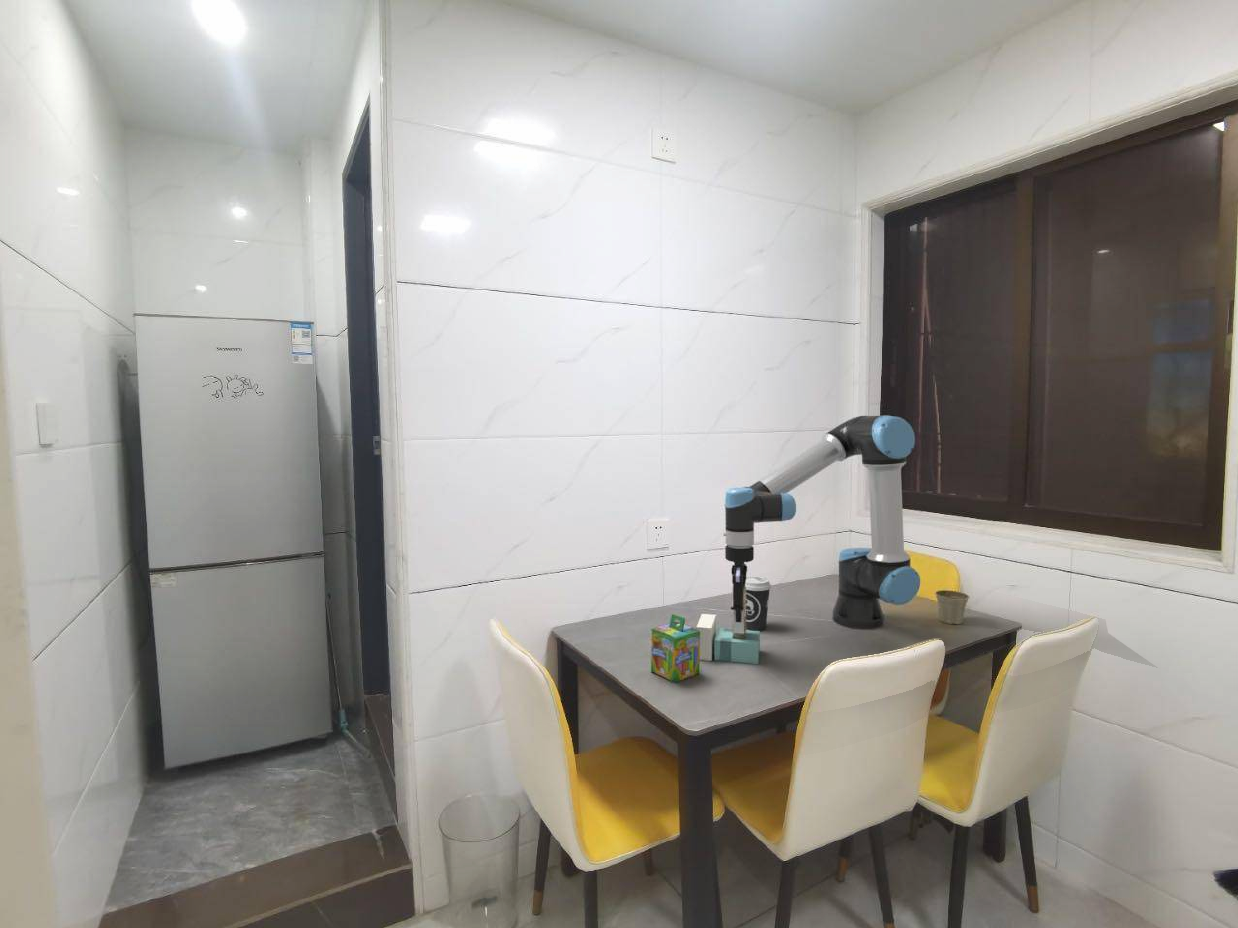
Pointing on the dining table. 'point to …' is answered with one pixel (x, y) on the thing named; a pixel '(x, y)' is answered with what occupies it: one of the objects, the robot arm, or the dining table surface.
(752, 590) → the coffee cup
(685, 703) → the dining table surface
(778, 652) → the dining table surface
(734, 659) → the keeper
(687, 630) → the chalk box
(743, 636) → the dowel
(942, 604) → the flower pot
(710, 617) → the wall
